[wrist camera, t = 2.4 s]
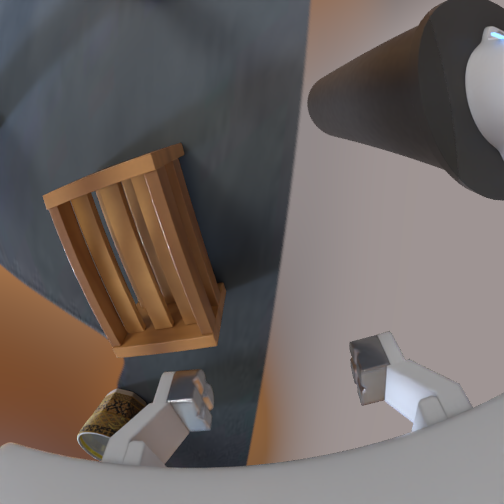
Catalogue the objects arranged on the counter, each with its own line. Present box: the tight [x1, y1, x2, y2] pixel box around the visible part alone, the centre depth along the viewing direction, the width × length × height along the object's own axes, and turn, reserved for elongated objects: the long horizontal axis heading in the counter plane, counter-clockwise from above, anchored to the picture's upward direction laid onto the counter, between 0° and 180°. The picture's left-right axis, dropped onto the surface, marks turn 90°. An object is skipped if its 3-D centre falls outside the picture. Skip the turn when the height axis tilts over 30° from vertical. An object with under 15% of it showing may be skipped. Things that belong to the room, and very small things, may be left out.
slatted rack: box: [43, 143, 226, 358], centre depth 27 cm, size 10×16×9 cm, turn 14°
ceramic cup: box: [77, 388, 147, 461], centre depth 38 cm, size 13×10×10 cm
